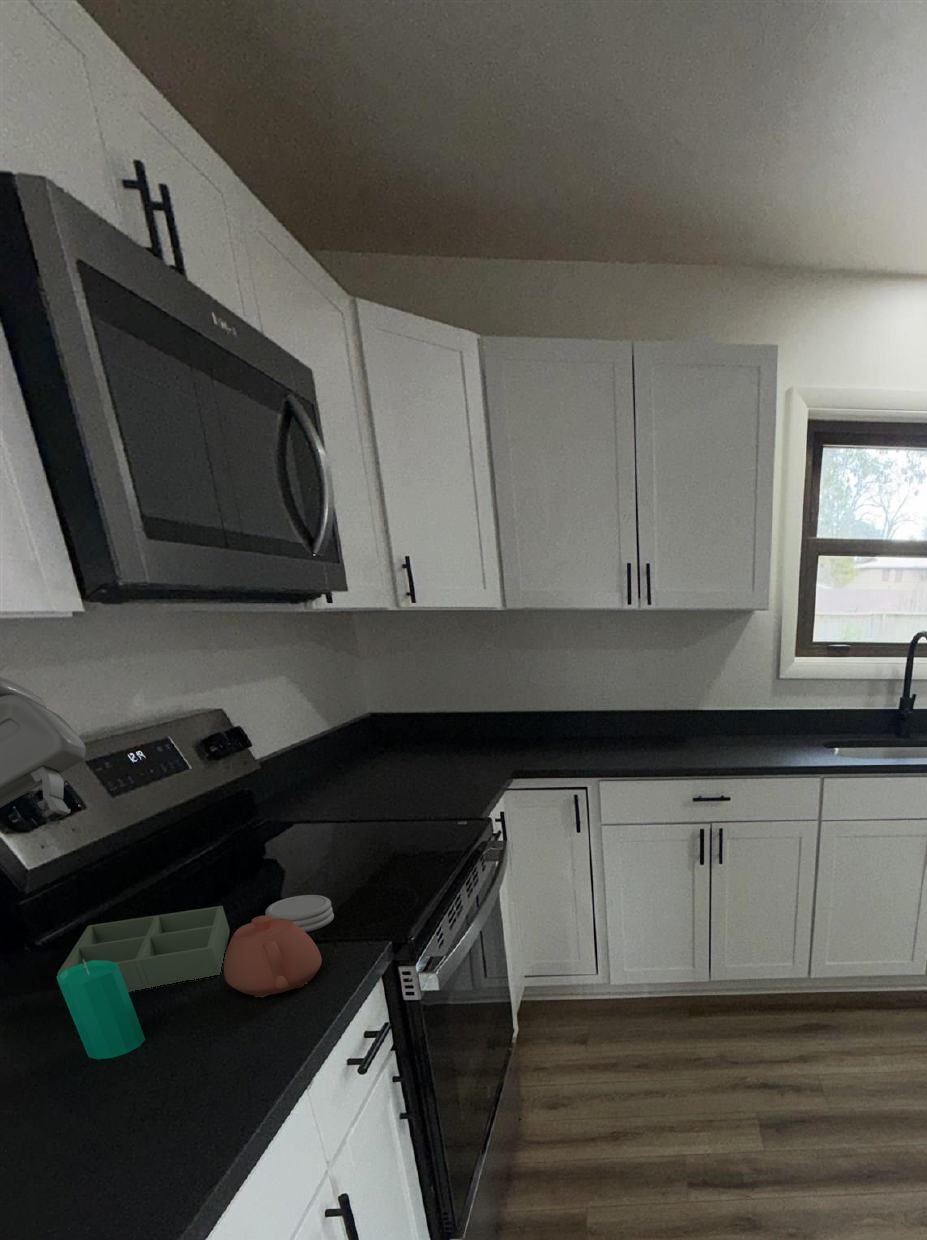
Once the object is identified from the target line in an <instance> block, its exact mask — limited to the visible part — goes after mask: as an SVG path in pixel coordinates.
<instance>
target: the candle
mask: <svg viewBox="0 0 927 1240" xmlns="http://www.w3.org/2000/svg"><path fill="white" fill-rule="evenodd" d="M83 962H84V963H81V964H78V965H76V966H73V967H70V968H68V969H65V970H63V971H62V972H61V973H60V974H59V975H57V976H56V980H57V985H58V986H59V988H60V991H61V993H62V996H63V999H64V1001H65V1003H66V1005H67V1008H68V1010H69V1013H70V1016H71V1018H72V1021H73V1023H74V1025H75V1028H76V1030H77V1032H78V1035H79V1037H80V1040H81V1042H82V1045H83V1048H84V1049H85V1052H86V1055H87V1057H88V1058H90V1059H93V1060H105V1059H114V1058H117V1057H119V1056H124V1055H126V1054H129V1053H131V1052H132V1051H135V1050H136V1049H137V1048H140V1047H141V1046H142V1045H143V1044H144V1042H145V1041H146V1037H145V1035H144V1031H143V1029H142V1025H141V1023H140V1020H139V1018H138V1015H137V1012H136V1010H135V1007H134V1004H133V1002H132V999H131V996H130V994H129V993H130V992H128V991H127V988H126V985H125V982H124V980H123V977H122V974H121V972H120V969H119V966H118V964H117V963H114V962H111V961H106V960H91V961H88V962H85V961H84V959H83Z"/></svg>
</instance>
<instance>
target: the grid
mask: <svg viewBox="0 0 927 1240" xmlns="http://www.w3.org/2000/svg"><path fill="white" fill-rule="evenodd" d="M230 932H231V931H230V926H229V923H228V920H227V916H226V912H225V910H224V906H223V905H217V906H212V907H211V906H210V907H204V908H198V909H191V910H185V911H183V910H182V911H177V912H171V913H163V914H157V915H149V916H144V917H137V918H129V919H123V920H117V921H116V920H115V921H109V922H104V923H103V922H102V923H95V924H90V925H87V926H86V928H85V930H84V931H83V933H82V934H81V936H80V938H79V939H78V941H77V942H76V943H75V945H74V946H73V948H72V950H71V952H70V953H69V955H68V956H67V958H66V959H65V961H64V963H63V964H62V965H61V967H60V968H59V970H58V972H57V973H56V974H57V976H58V975H59V974H60V973H61V972H62V971H63V970H65V969H68V968H70V967H73V966H76V965H78V964H81V963H84V962H83V959H84V961H85V962H88V961H91V960H106V961H111V962H114V963H117V964H118V966H119V969H120V972H121V974H122V977H123V980H124V982H125V985H126V988H127V991H128V993H133V992H136V991H135V990H139V991H142V990H141V989H145V988H150V989H154V988H153V987H155V986H156V988H158V987H157V986H160V985H164V984H165V985H167V984H172V983H176V982H180V981H181V982H182V981H186V980H194V979H195V980H194V981H197V980H196V979H198V978H199V979H200V978H204V977H209V976H214V975H220V972H221V973H222V971H221V967H222V968H223V966H222V963H223V964H224V961H223V958H224V959H225V957H224V953H225V954H226V952H225V950H226V951H227V948H228V942H229V937H230ZM200 980H201V979H200ZM172 985H173V984H172ZM167 986H168V985H167ZM151 987H152V988H151ZM145 990H146V989H145ZM132 991H133V992H132Z"/></svg>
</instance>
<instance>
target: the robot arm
mask: <svg viewBox="0 0 927 1240" xmlns="http://www.w3.org/2000/svg"><path fill="white" fill-rule="evenodd" d="M86 753H87V747H86V745H85V743H84V742H83V740H82V739H81V738H80V736H79V735H78V734H77V732H76V731H75V730H74V728H73V727H71V725H70V724H69V723H68V722H67V721H66V720H65V719H64V718H63V717H62V716H61V715H60V714H58V713H56V712H54V711H52V710H51V709H48V708H47V705H46V703H45V701H44V700H43V698H41V697H40V696H38V695H37V694H36V693H34V692H33V691H31V690H30V689H27V688H26V687H24V686H22V685H20V684H18V683H17V682H14V681H11V680H10V679H7V678H5V677H2V676H0V809H1V808H3V807H5V806H7V805H8V804H10V803H11V802H13V801H15V800H16V799H18V798H21V797H22V796H24V795H25V794H27V793H29V792H31V791H33V790H34V789H36V788H38V787H39V786H42V788H41V789H42V798H43V799H41V800H40V801H38V802H36V805H37V806H38V808H39V809H40V810H42V814H43V815H44V816H45V817H46V818H47V819H50V820H54V821H58V820H60V819H62V818H65V816H68V815H69V814H70V813H71V810H70V809H69V807H68V806H67V804H66V803H65V801H64V792H65V791H64V788H65V780H64V779H63V778H62V776H61V775H60V774H62V773H64V772H66V771H67V770H69V769H71V768H72V767H74V766H76V765H77V764H80V763H81V762H83V761H84V760H85V758H86Z"/></svg>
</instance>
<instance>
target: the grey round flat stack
mask: <svg viewBox="0 0 927 1240" xmlns="http://www.w3.org/2000/svg"><path fill="white" fill-rule="evenodd" d="M265 915H266V916H271V917H272V919H273V918H282V919H287V920H290V921H292V922H293V923H295V924H296V925H297V926H299V927H300V928H301V929H302V930H303V931H304V932H305V933H311V932H314V931H318V930H320V929H322V928H325V927H327V926H328V925H329V924H330V923H332V921H334V919H335V914H334V911H333V907H332V901H331V900H330V898H328V897H326V896H325V895H324V896H323V895H319V894H305V895H304V894H303V895H295V896H291V897H286V898H283V899H280V900H277V901H275V902H273V903H272V904H270V905H269V906H267V908H266V909H265Z"/></svg>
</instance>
